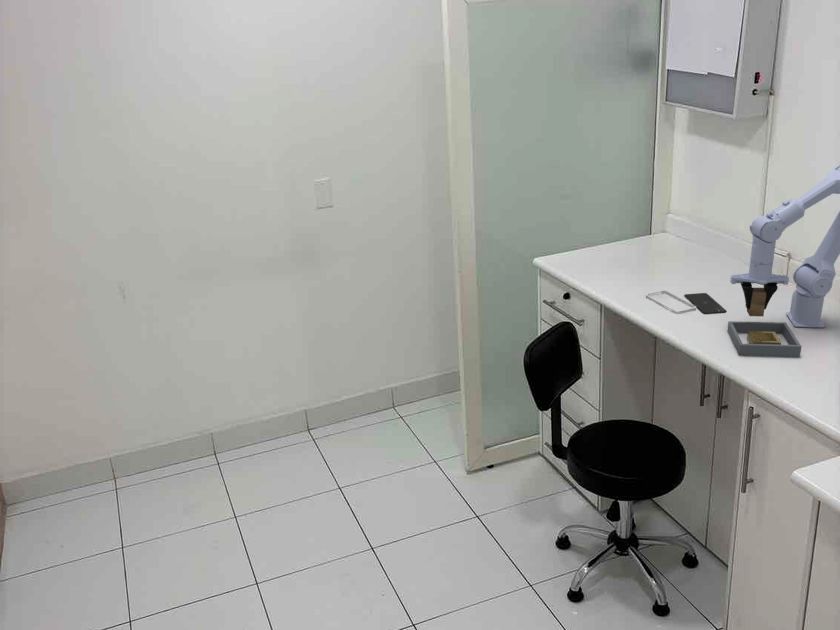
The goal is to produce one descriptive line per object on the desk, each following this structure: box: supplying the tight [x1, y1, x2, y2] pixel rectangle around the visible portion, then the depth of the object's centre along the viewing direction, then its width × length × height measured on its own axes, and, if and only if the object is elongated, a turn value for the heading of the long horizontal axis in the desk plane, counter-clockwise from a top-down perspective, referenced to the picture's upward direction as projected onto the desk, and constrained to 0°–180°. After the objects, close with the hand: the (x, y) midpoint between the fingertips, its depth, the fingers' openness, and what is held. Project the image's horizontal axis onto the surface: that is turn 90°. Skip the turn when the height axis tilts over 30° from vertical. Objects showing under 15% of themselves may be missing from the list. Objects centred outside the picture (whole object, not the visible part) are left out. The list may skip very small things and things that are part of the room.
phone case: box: [645, 290, 697, 315], centre depth 253 cm, size 7×1×15 cm
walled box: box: [726, 320, 802, 358], centre depth 226 cm, size 15×15×3 cm
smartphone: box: [683, 292, 728, 315], centre depth 252 cm, size 7×1×15 cm
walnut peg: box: [746, 287, 767, 317], centre depth 233 cm, size 4×4×7 cm
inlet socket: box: [746, 331, 782, 345], centre depth 225 cm, size 7×7×2 cm
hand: (755, 307), depth 234 cm, fingers closed on walnut peg, 4 cm apart
